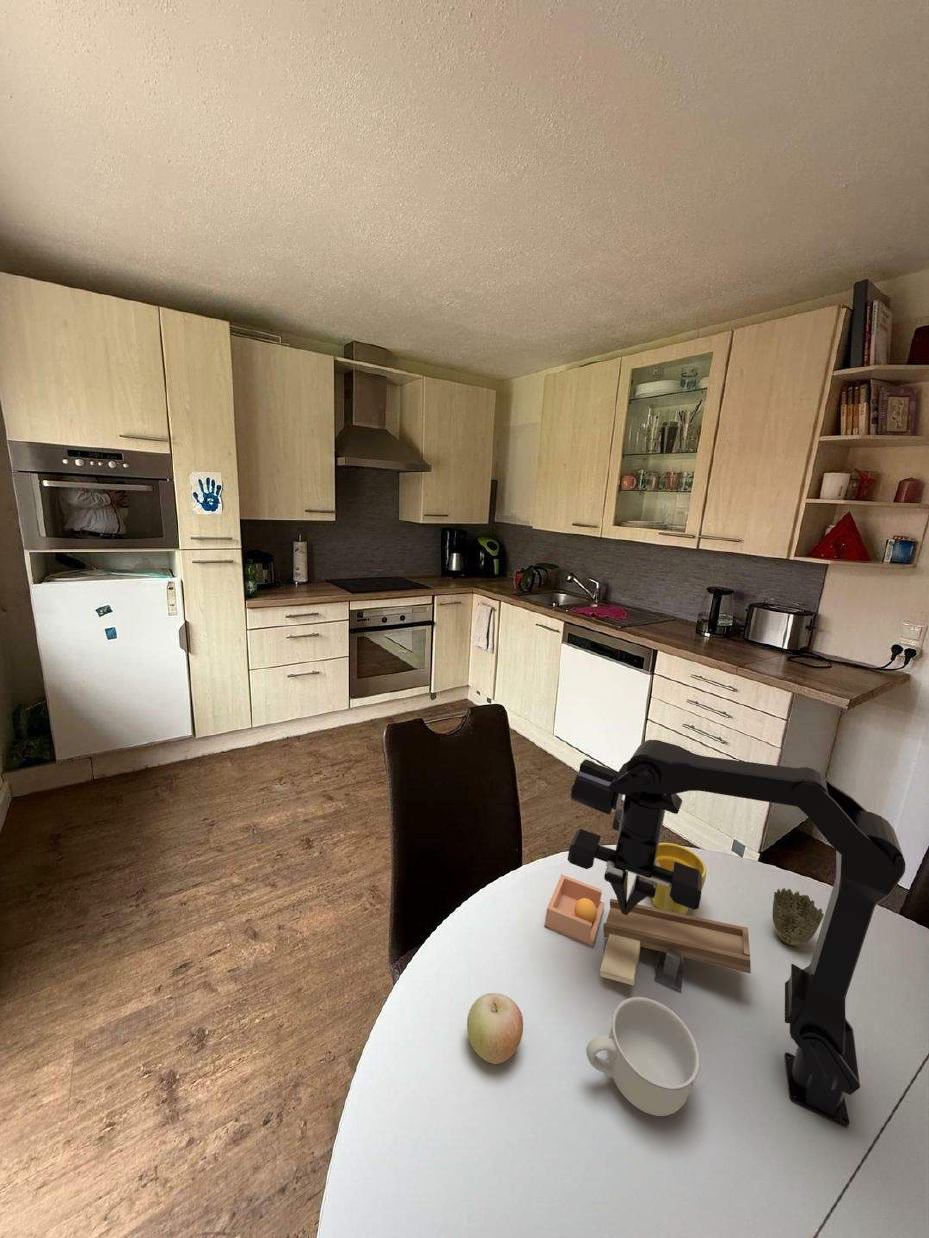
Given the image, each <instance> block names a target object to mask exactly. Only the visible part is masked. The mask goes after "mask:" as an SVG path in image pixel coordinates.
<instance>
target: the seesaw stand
mask: <svg viewBox="0 0 929 1238" xmlns="http://www.w3.org/2000/svg"><path fill="white" fill-rule="evenodd" d="M671 912H676V911H673V910H671ZM676 913H678V912H676ZM684 963H685V957H682V956H680V954H678V953H676V952H673V951H671V950H669V949H667V952H662V951H658V950H657V957H656V964H655V965H656V966H655V972H654V973H655V974H654V980H653V981H654V982H656V983H658V984H661V985H663V986H665V987H667V988H670V989H672V990H674V991H677V992H678V993H681V992H682V988H683V976H684Z"/></svg>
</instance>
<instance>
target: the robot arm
mask: <svg viewBox="0 0 929 1238" xmlns="http://www.w3.org/2000/svg"><path fill="white" fill-rule="evenodd" d="M577 772H578V773H577V774H576V777H575V780H574V784H573V785H572V787H571V791H570V792H571V793H570V799H571V801H572V802H574V803H577V804H579V805H582V806H585V807H586V808H589V809H592V810H594V811H597V812H598V813H599V812H600V813H603V814H605V815H607V816H608V815H611V813H612V810H613V811H615V812H614V817H613V821H612V827H611V829H612V830H614V831H615V832H618V833H617V838H616V839H617V841H616V846H615V849H613V848H611V847H607V846H604V845H602V844H601V843H602V838H603V836H602V835H600V834H596V833H593V832H592V831H591V832H590V831H588V830H585V829H582V828H580V829H578V830H576V831H575V834H574V835H573V838H572V841H571V843H570V844H569V848H568V854H567V861H568V862H569V864H572V865H575V866H577V867H579V868H581V869H585V870H588V869H591V868H593V867H594V864H595V863H594V862H595V859H597V860H599V861H603V862H605V863H606V865H605V866H606V868H605V872H604V874H603V875H604V876H603V879H604V880H605V882H607V883H610V885H611V888H612V889H613V892H614V894H615V896H616V900H618V903H619V907H620V910H621V913H622V914H624V915H628V914H629V912H630V911H631V910H632V909H633V908H634V907H635V906H636V905H637V904H639V903H641V902H642V901H643V900H644V899H645V900H646V898H650V899H651V898H654V897H655V892H656V886H657V885H658V883H660V884H663V885H666V886H668V887H670V886H671V890H670V897H671V898H672V900H673V901H674V902H675V903H677V904H680V905H683V906H685V907H688V908H689V909H691V910H693V911H694V910H699V907H700V903H701V900H702V899H701V898H702V891H703V888H702V875H701V873H700V871H699V870H698V869H695V868H692V867H689V866H686V865H683V864H680V863H678V862H674V865H673V871H670V870H667V869H664V868H661V867H660V863H658V862H656V856H657V851H658V846H659V843H660V841H661V834H662V828H663V823H664V819H665V814H666V812H669V813H670V814H671V813H672V814H674V815H678V814H679V811H680V809H681V807H682V804H683V800H682V798H681V797H680V796H679V795H678V794H681V793H685V792H691V791H692V792H704V793H712V794H716V795H718V794H719V795H722V796H723V795H725V796H728V797H735V798H741V799H742V798H743V799H746V800H747V799H748V800H753V801H760V802H766V803H771V804H777V805H784V806H789V807H797V808H799V810H800V811H802V812H803V813H804V814H805V815H806V816H807V817H808V818H809V820H810V821H811V822H812V823H813V824H814V826H815V827H816V828H817V829H818V831H819V832H820V833H821V834H822V836H823V838H825V840H827V842H828V843H829V844H830V845H831V846H832V847H833V848H834V850H835V853H836V854H835V855H836V857H835V859H836V860H835V861H836V869H835V872H836V876H835V881H834V883H833V887H832V890H831V893H830V897H829V899H828V903H827V908H826V910H825V914H824V916H823V919H822V923H821V925H820V926H821V927H820V930H819V934H818V936H817V940H816V945H815V948H814V950H813V955H812V958H811V961H810V963H809V964H808V966H806V967H805V968H803V969H802V968H801V967H799V966H798V965H795V964H794V963H791V964H790V965H791V966H790V977H789V978H788V980H787V981H785V982H784V1023H785V1024H789V1036H790V1038H791V1039H792V1040H793V1042H795V1045H796V1046H797V1048H796V1051H795V1054H792V1053H789V1052H788V1051H787V1052H784V1054H783V1057H784V1066H785V1075H786V1081H787V1083H786V1084H787V1089H788V1097H789V1099H790V1100H791V1101H792V1102H794V1103H796V1104H797V1105H800V1106H802V1107H804V1108H806V1109H808V1110H810V1111H813V1112H814V1113H817V1114H819V1115H821V1116H823V1117H825V1118H827V1119H829V1120H831V1121H833V1122H835V1123H837V1124H839V1125H842V1126H844V1127H846V1128H848V1127H849V1126H850V1123H851V1122H850V1118H849V1114H848V1113H849V1112H848V1110H847V1105H846V1104H847V1103H846V1101H845V1095H846V1094H847V1095H851V1096H852V1095H853V1094H854V1093H855V1092H856V1091H858V1090H859V1089H860V1088H861V1082H860V1074H859V1067H858V1066H859V1065H858V1059H857V1058H858V1057H857V1051H856V1042H855V1041H856V1040H855V1034H854V1028H853V1027H852V1025H851V1023H849V1021H848V1020H847V1018H846V1000H847V999H846V998H847V994H848V991H849V988H850V987H851V986H850V985H851V982H852V979H853V976H854V973H855V970H856V967H857V964H858V962H859V961H858V960H859V958H860V954H861V951H862V948H863V945H864V941H865V940H866V936H867V933H868V930H869V926H870V923H871V921H872V917H873V914H874V911H875V907H876V906H877V905H878V904H879V903H880V902H881V901H883V900H885V899H886V898H887V897H889V896H890V895H891V894H892V893H893V892H894V890H895V888H896V887H897V885H898V884H899V883H900V880H901V879H902V878H903V877H904V874H905V873H906V872H905V871H906V861H905V857H904V855H903V851H902V848H901V846H900V842H899V840H898V837H897V834H896V832H895V829H894V827H893V826H892V825H891V823H890V822H889V821H888V820H887V819H885V818H884V817H883V816H881V815H879V814H876V813H875V812H871V811H868V810H866V808H865V807H863V806H862V805H861V804H860V803H859V802H858V801H857V800H855V798H853V797H852V796H851V795H850V794H848V793H847V792H845V791H843V790H841V789H840V788H839V787H837V786H836V785H834V784H832V782H830V781H829V779H827V778H826V777H825V776H824V775H823V774H821V773H822V772H819V771H817V770H816V769H814V768H811V767H807V766H805V767H804V766H803V767H792V766H790V767H789V766H783V765H782V766H781V765H777V764H767V763H760V762H752V761H751V762H750V761H744V760H735V759H728V758H723V757H722V758H721V757H720V758H719V757H712V756H705V755H700V754H696V753H693V752H692V751H690V750H687V749H686V748H683V747H682V746H680V745H676V744H673V743H670V742H665V741H662V740H660V739H647V740H645V741H643V742H642V743H641V744H640V745H639V746H638V747H637V748H636V750H635V752H634V753H633V754H632V756H631V757H630V759H629V760H628V761H627V762H625V763H623V764H622V766H621V767H620V769H619V770H618V771H617V770H615V769H611V768H609V767H606V766H603V765H600V764H597V763H595V762H594V761H592V760H590V759H587V758H585V759H584V760H583V761H581V763H580V764H579V770H578V771H577ZM623 796H624V800H623ZM622 800H623V805H622V809H621V808H620V806H621V803H622ZM629 873H631V874H633V875H635V877H634V879H633V880H634V881H633V883H632V886H631V889H630V892H629V894H628V883H629V882H628V881H629V880H628V879H629V878H628V877H629Z"/></svg>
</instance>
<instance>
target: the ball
mask: <svg viewBox="0 0 929 1238" xmlns="http://www.w3.org/2000/svg"><path fill="white" fill-rule="evenodd" d="M574 911H575V915H576V917H578V918H581V919H583V920H586V921H588V922H590V923H591V922H593V921H594V920H595V918H596V916H597V908H596V906H595V904H594V903H593V902H592V901H591V900H590V899H587V898H582V899H579V900H578V901H577V902H576V904H575V907H574Z"/></svg>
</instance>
